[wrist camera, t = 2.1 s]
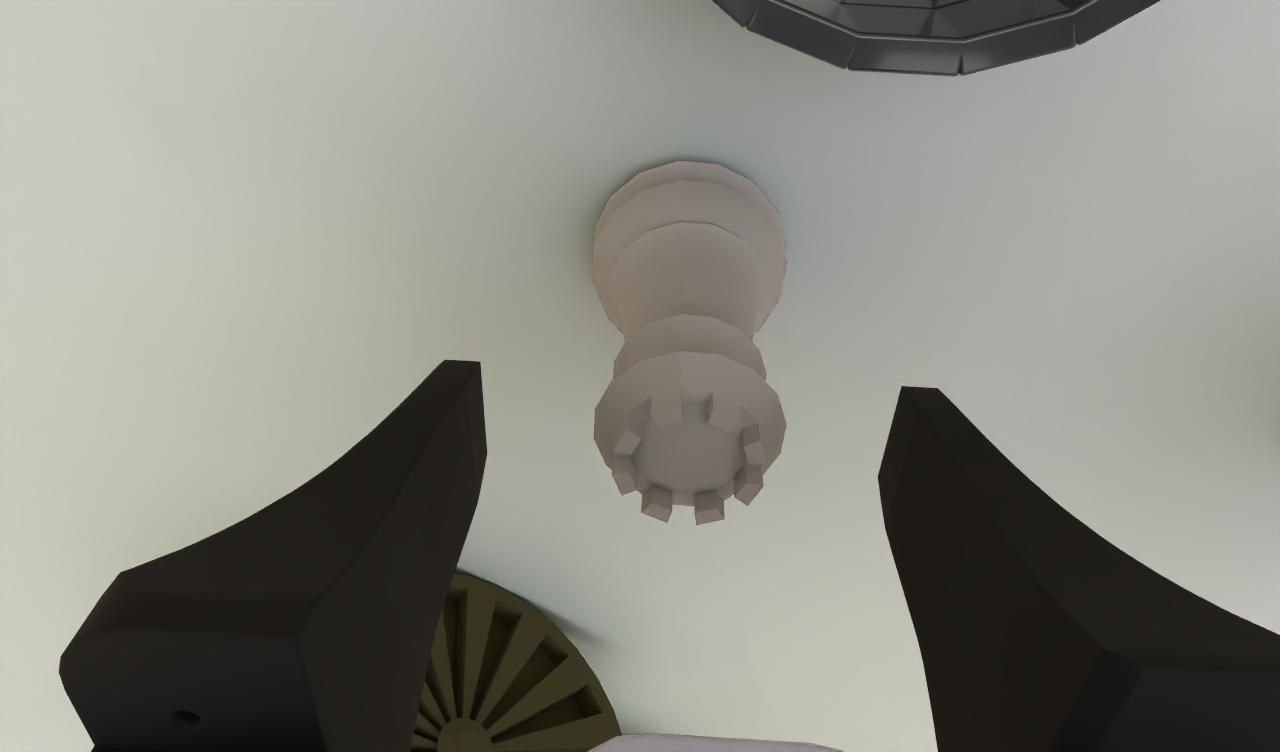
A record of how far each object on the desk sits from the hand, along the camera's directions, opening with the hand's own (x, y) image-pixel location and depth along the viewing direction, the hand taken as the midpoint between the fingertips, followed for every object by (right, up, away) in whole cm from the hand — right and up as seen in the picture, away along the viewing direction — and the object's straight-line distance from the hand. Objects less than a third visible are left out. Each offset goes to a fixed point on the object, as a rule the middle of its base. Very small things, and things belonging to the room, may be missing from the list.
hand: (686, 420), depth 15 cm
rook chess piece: (0, +4, +6) cm, 7 cm away
